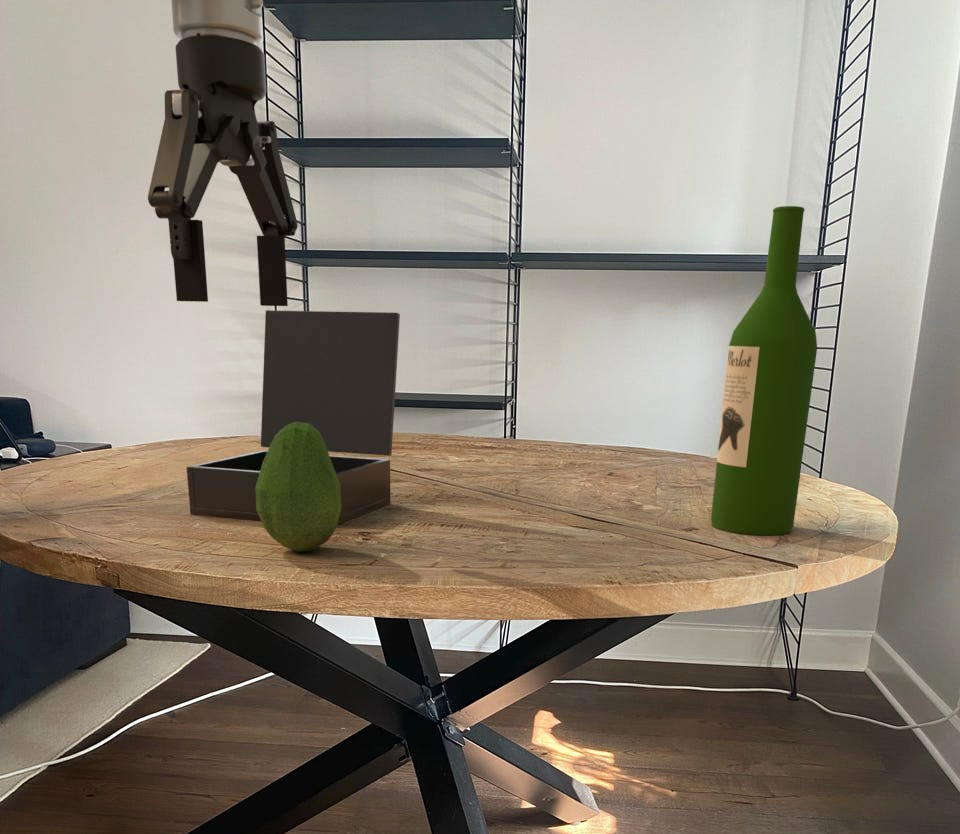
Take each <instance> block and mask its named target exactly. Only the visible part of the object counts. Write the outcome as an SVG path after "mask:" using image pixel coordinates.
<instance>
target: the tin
mask: <svg viewBox="0 0 960 834" xmlns="http://www.w3.org/2000/svg"><path fill="white" fill-rule="evenodd" d="M267 452H268V450H259V451H254V452H250V453H245V454H240V455H235V456H230V457H225V458H221V459H216V460H212V461H206V462H201V463H197V464H193V465H188V466H186V476H187V489H188V500H189V512H190V513H189V514H190V515H196V516H197V515H198V516H206V517H207V516H208V517H218V518H227V519H237V520H248V521H249V520H250V521H258V522H259V521H260V522H261V519H260V517H259V515H258V512H257V510H256V490H255V487H256V484H257V480H258V477H259V474H260V470H261V467H262V463H263V461H264V458H265V456H266V454H267ZM329 456H330V459H331V462H332V465H333V467H334V470H335V472H336V475H337V478H338V480H339V483H340V493H341V511H340V515H339V520H338V524H337V526H338V525H340V524H343V523H346V522H348V521H351V520H353V519H355V518H358V517H360V516H363V515H365V514H368V513H371V512H373V511H375V510H377V509H380V508H382V507H385V506H387V505H390V504H391V503H392V501H391V500H392V499H391V498H392V497H391V459H386V458H373V457H372V458H371V457H358V456H357V457H356V456H342V455H330V454H329Z"/></svg>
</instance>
